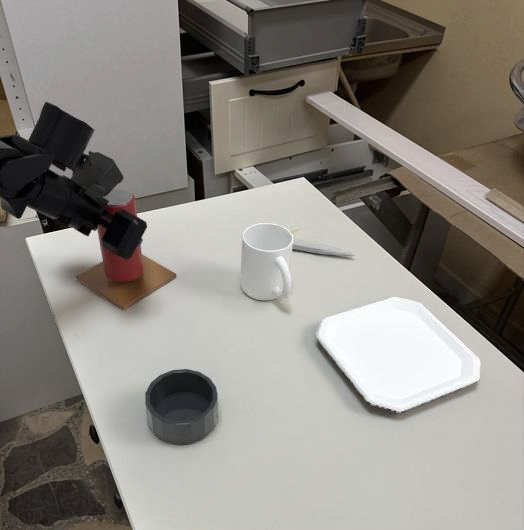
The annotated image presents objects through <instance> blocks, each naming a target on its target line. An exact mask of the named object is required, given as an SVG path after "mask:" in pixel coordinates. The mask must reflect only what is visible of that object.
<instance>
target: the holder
mask: <svg viewBox="0 0 524 530" xmlns="http://www.w3.org/2000/svg"><path fill="white" fill-rule="evenodd" d="M218 398H219V397H218V390H217V386H216V385H215V383H214V382H213V381H212V379H211V378H210V377H209V376H207V375H206V374H204V373H202V372H201V371H198V370H193V369H188V368H181V369H172V370H170V371H166V372H163V373H160V374H159V375H158V376H157V377H156V378H155V379H153V380H152V381H151V382H150V383H149V385H148V387H147V389H146V391H145V394H144V404H145V410H146V411H145V413H146V418H147V424H148V425H149V428H150V430H151V432H152V434H154V435H155V437H157V438H158V439H159V440H161V441H162V442H165V443H167V444H171V445H176V446H187V445H192V444H196V443H198V442H200V441H202V440H204V439H205V438H207V436H209V435H210V434H211V432H212V431H213V430H214V429H215V427H216V424H217V421H218V415H219V413H218V412H219V410H218V409H219V405H218V404H219V399H218Z"/></svg>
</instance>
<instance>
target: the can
mask: <svg viewBox="0 0 524 530" xmlns="http://www.w3.org/2000/svg"><path fill="white" fill-rule="evenodd" d="M103 198H105V199H107V200H108V201H109V203H108V205H107V207H106V208H105V209H104V208H103V209H104V210H106V211H108V212H110V213H112V214H115V213H116V212H117V211H119V210H121V209H124V210H126V211H127V212H129V213H131V214H133V215H135V216H137V217H138V211H137V203H136V196H135V195H134V194H133V193H132V192H130V191H128V190H125V189H119V188H114V189H113V190H112V191H111V192H110V193H109V194H108V195H107V196H104V197H103ZM102 218H103V219H105V220H107V221H108V222H111V221H110V220H108V219H107V218H105V217H102ZM106 230H107V229H106V228H105V227H103V226H101V225H98V228H97V230H96V232H97V236H98V241H99V247H100V252H101V253H100V254H101V258H102V262H103V265H104V271H105V275H106V277H107V278H109V279H111V280H113V281H119V282H125V281H131V280H134V279H137V278H138V277H140V276H141V275H142V274H143V272H144V268H143V260H142V254H143V253H142V244H141V245H140V246H137V248H136V249H135V251H134V253H133V255H132V257H131V258H130V259H128V260H125V259H123V258H121V257H119V256H117V255H115V254H114V253H112V252H110V251H109V250H107V249H105V248H104V247H103V244H102V238H103V236H104V234H105V232H106Z"/></svg>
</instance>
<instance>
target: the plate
mask: <svg viewBox="0 0 524 530" xmlns="http://www.w3.org/2000/svg"><path fill="white" fill-rule="evenodd" d="M315 337H316V340H317V341H318V343H319V344H320V345H321V346H322V348H323V350H325V351H326V353H327V354H328V356H330V358H331V359H332V360H333V362H334V363H335V364H336V365H337V367H338V368H339V369H340V370H341V372H342V373H343V374H344V375H345V376H346V378H347V380H348V381H349V382H350V383H351V384H352V385H353V387H354V388H355V389H356V391H357V392H358V393H359V394H360V395H361V397H362V398H363V399H364V401H365V402H366V403H367V404H368V405H370V406H373V407H376V408H380V409H384V410H387V411H390V412H393V413H397V414H398V413H399V414H401V413H405V412H408V411H410V410H412V409H415V408H417V407H419V406H422V405H424V404H427V403H429V402H432V401H434V400H436V399H440V398H442V397H444V396H447V395H449V394H452V393H454V392H457V391H460V390H462V389H464V388H467V387H469V386H471V385H474V384H476V383H478V382H479V381H480V379H481V363H482V362H481V360H480V358H479V357H478V356H477V355H476V354H475V353H474V352H473V351H472V350H471V349H470V348H469V347H468V346H466V345H465V343H464V342H462V341H461V340H460V339H459V338H458V337H457V336H456V335H455V334H454V333H453V332H452V331H451V330H450V329H449V328H448V327H446V325H445V324H444V323H443V322H441V321H440V320H439V319H438V318H437V317H436V316H435V315H434V314H433V313H432V312H431V311H430V310H428V308H427V307H426V306H424V304H423V303H421V302H419V301H417V300H416V301H415V300H412V299H407V298H404V297H399V296H392V297H389V298H385V299H382V300H378V301H375V302H373V303H369V304H365V305H363V306H359V307H356V308H353V309H349V310H346V311H343V312H339V313H336V314H333V315H329V316H326V317H324V318H322V319H321V321H320V324H319V326H318V329H317V331H316V334H315Z"/></svg>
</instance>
